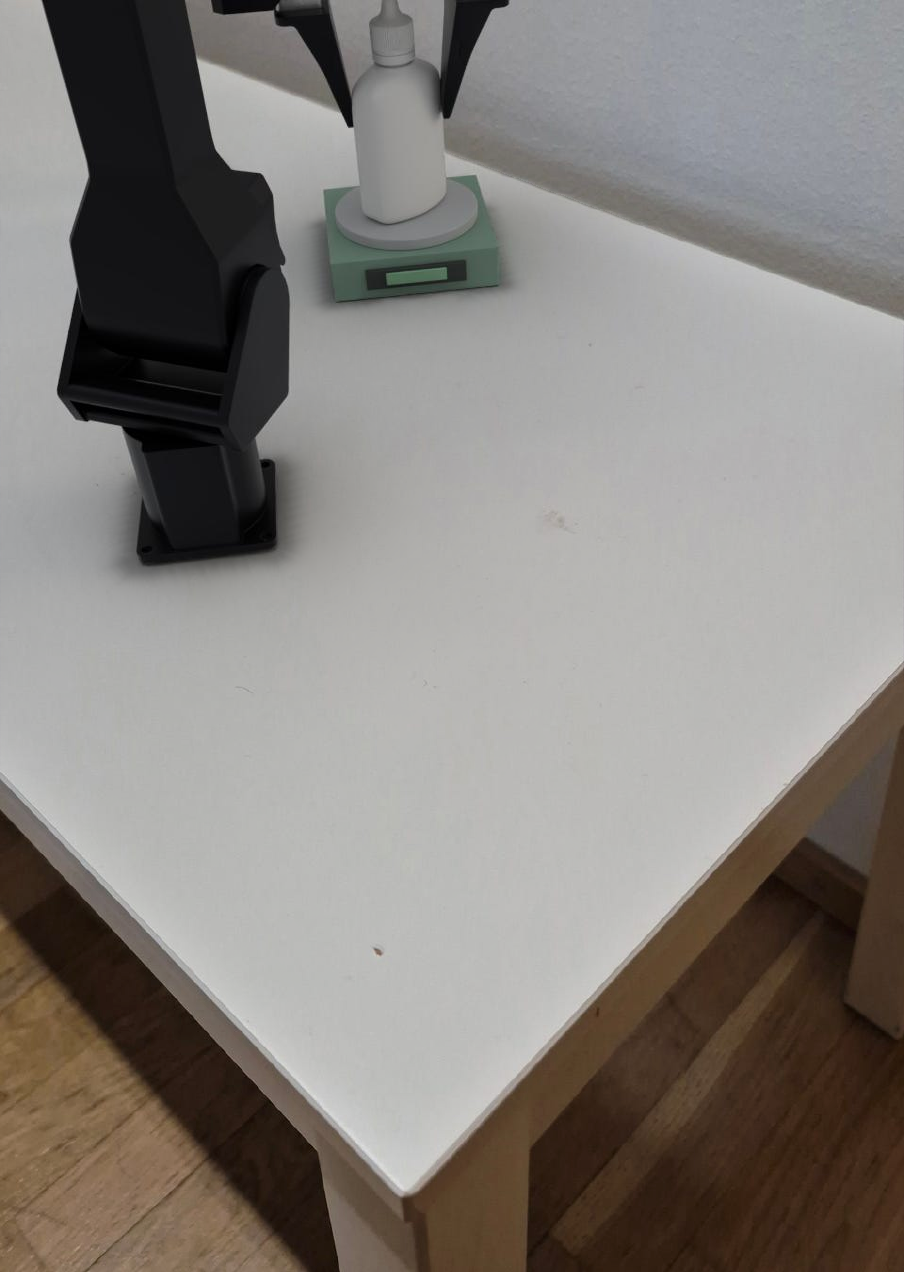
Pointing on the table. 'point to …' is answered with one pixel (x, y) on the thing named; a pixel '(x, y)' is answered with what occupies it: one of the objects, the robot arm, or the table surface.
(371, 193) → the eye dropper bottle
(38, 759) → the table surface
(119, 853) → the table surface
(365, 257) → the kitchen scale
